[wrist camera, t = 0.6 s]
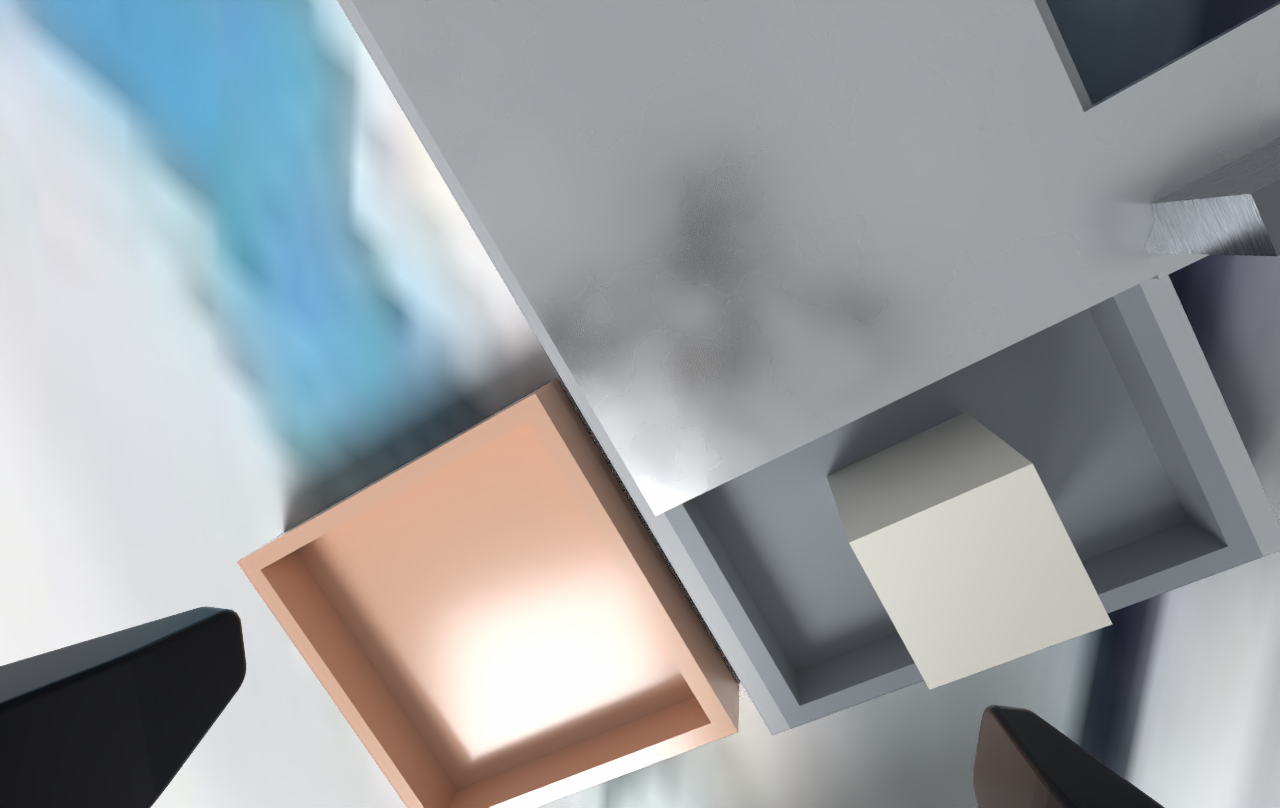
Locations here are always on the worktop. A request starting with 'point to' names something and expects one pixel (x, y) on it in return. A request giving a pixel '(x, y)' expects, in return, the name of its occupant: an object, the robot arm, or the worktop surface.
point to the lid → (818, 195)
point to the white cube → (965, 550)
